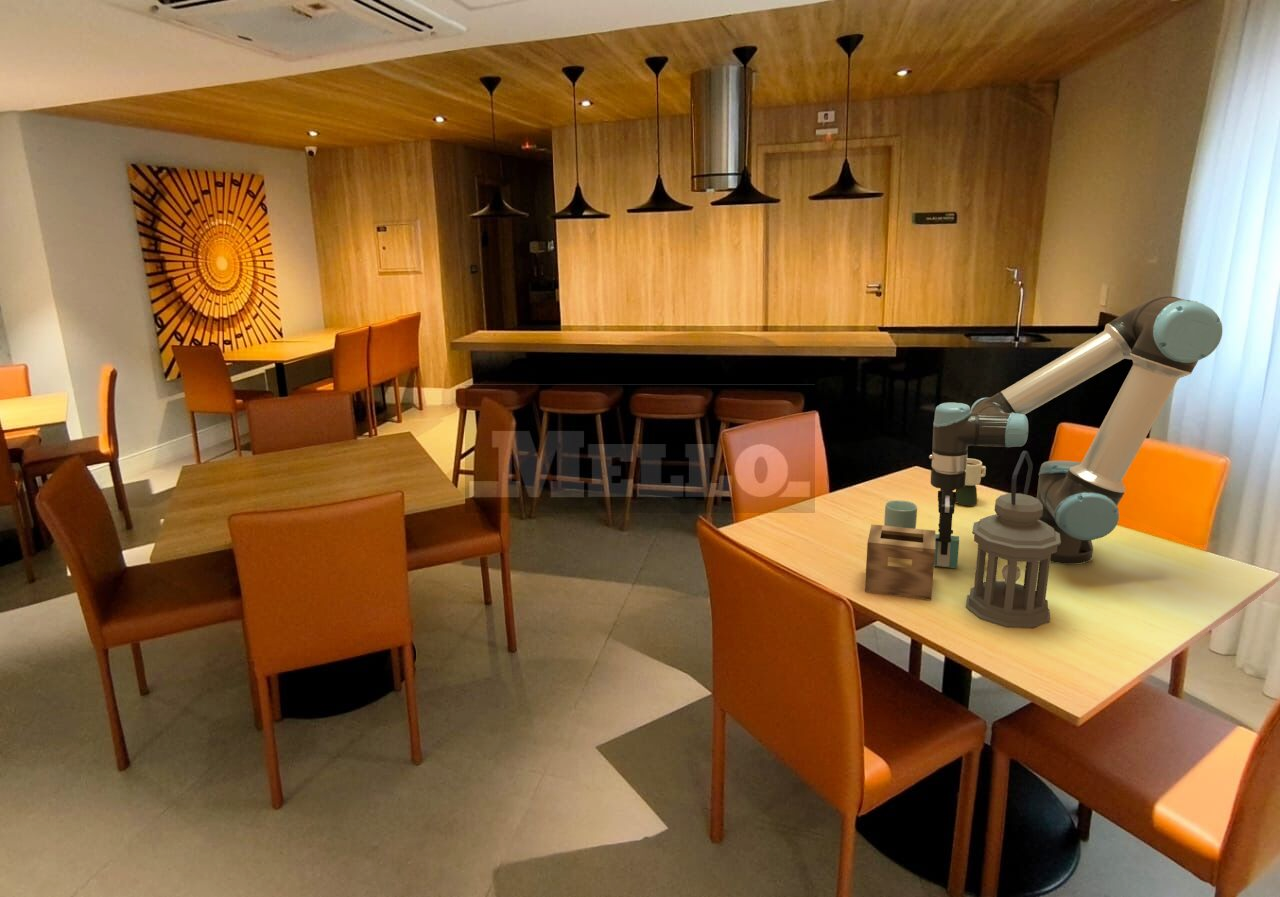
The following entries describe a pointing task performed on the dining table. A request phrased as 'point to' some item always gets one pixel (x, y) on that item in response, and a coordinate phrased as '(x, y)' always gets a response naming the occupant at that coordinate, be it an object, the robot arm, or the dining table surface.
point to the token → (953, 551)
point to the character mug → (970, 482)
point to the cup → (900, 514)
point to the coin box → (900, 561)
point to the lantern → (1013, 560)
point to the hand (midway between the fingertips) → (942, 562)
